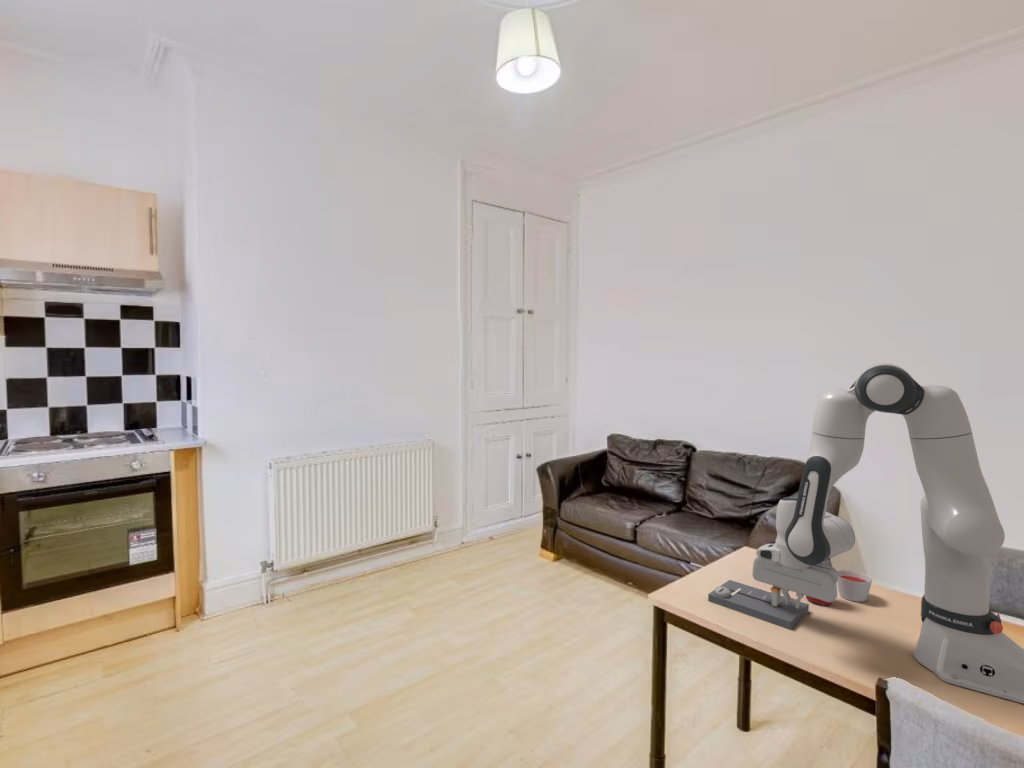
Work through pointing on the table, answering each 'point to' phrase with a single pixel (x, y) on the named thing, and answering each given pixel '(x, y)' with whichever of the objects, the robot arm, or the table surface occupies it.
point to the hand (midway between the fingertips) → (792, 606)
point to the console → (757, 604)
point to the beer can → (818, 601)
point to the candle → (853, 585)
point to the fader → (776, 595)
